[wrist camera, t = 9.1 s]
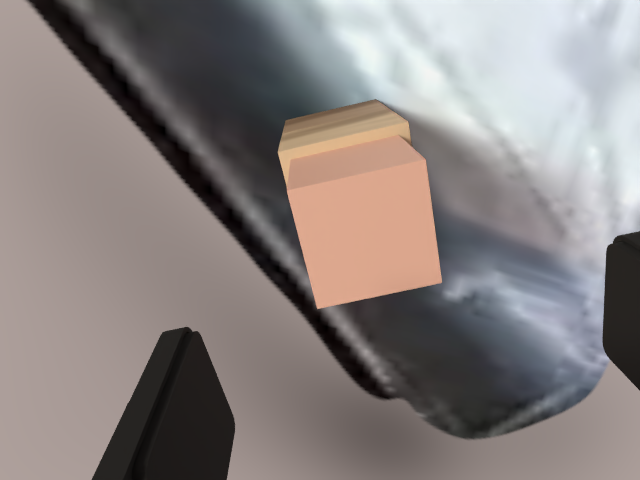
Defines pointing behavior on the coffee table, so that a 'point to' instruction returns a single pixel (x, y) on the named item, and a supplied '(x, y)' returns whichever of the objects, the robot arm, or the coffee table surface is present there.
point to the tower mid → (341, 135)
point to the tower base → (333, 115)
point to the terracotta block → (364, 220)
